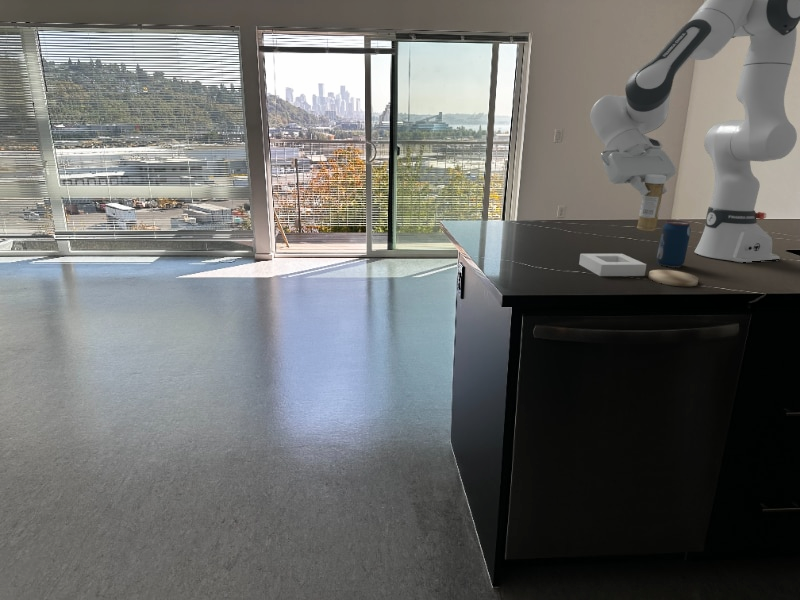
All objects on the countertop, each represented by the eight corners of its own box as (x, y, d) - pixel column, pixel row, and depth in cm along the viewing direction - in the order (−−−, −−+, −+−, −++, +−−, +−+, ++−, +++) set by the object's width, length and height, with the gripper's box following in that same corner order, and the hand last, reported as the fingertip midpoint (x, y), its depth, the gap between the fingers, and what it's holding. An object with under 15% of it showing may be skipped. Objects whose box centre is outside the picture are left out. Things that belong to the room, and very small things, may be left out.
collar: (620, 264, 141) (621, 253, 140) (644, 275, 130) (646, 264, 129) (579, 264, 139) (580, 253, 139) (600, 276, 128) (601, 264, 127)
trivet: (679, 274, 132) (679, 269, 132) (707, 286, 122) (708, 281, 121) (639, 274, 131) (640, 269, 130) (665, 286, 121) (666, 281, 120)
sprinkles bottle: (659, 230, 127) (670, 175, 123) (649, 232, 125) (660, 176, 120) (642, 226, 131) (652, 173, 126) (632, 228, 128) (641, 174, 124)
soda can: (688, 266, 140) (697, 223, 137) (674, 269, 137) (683, 225, 133) (664, 260, 146) (672, 219, 142) (650, 263, 142) (658, 221, 139)
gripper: (606, 141, 122) (633, 186, 117) (664, 141, 131) (692, 183, 126) (590, 159, 128) (615, 203, 122) (647, 158, 136) (673, 199, 131)
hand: (655, 193), depth 124 cm, fingers closed on sprinkles bottle, 4 cm apart
